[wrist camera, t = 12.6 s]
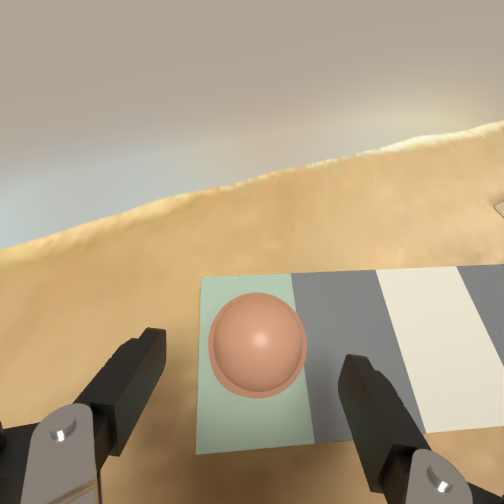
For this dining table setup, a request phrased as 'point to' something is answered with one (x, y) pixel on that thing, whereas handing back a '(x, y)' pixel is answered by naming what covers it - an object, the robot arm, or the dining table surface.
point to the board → (365, 352)
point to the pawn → (257, 345)
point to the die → (500, 208)
